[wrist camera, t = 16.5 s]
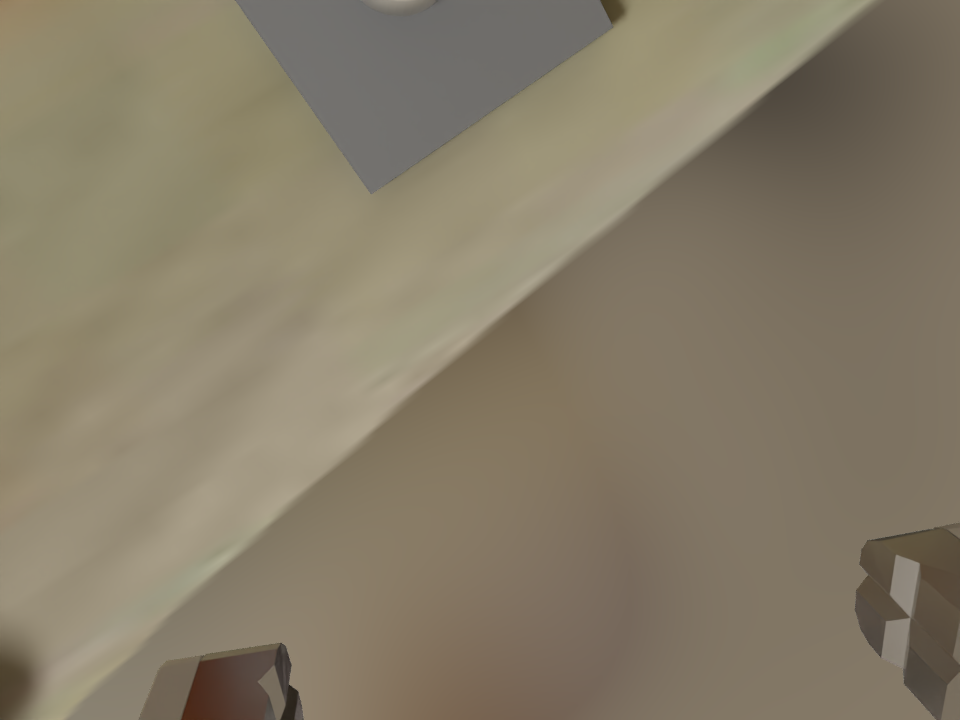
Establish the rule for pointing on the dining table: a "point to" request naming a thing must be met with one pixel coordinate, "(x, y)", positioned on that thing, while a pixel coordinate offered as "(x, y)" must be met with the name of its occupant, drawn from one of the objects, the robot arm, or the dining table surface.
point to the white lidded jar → (399, 6)
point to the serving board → (416, 67)
